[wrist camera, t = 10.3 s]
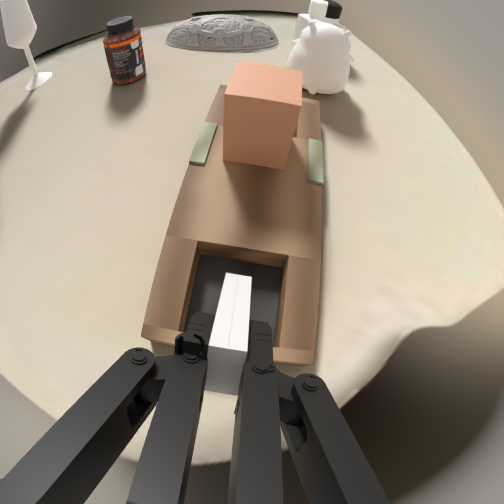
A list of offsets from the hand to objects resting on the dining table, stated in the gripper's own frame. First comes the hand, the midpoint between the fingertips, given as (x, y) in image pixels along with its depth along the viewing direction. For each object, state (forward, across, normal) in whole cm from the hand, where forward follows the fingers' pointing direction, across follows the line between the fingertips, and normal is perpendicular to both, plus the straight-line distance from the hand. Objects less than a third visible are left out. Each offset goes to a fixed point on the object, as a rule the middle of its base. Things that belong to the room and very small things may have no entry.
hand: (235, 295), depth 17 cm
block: (+15, 0, +9) cm, 18 cm away
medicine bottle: (+44, +8, +32) cm, 55 cm away
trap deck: (+14, 0, +3) cm, 14 cm away
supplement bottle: (+30, -23, +18) cm, 42 cm away
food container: (+43, -11, +31) cm, 54 cm away
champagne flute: (+32, -48, +20) cm, 62 cm away
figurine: (+31, +7, +20) cm, 38 cm away
